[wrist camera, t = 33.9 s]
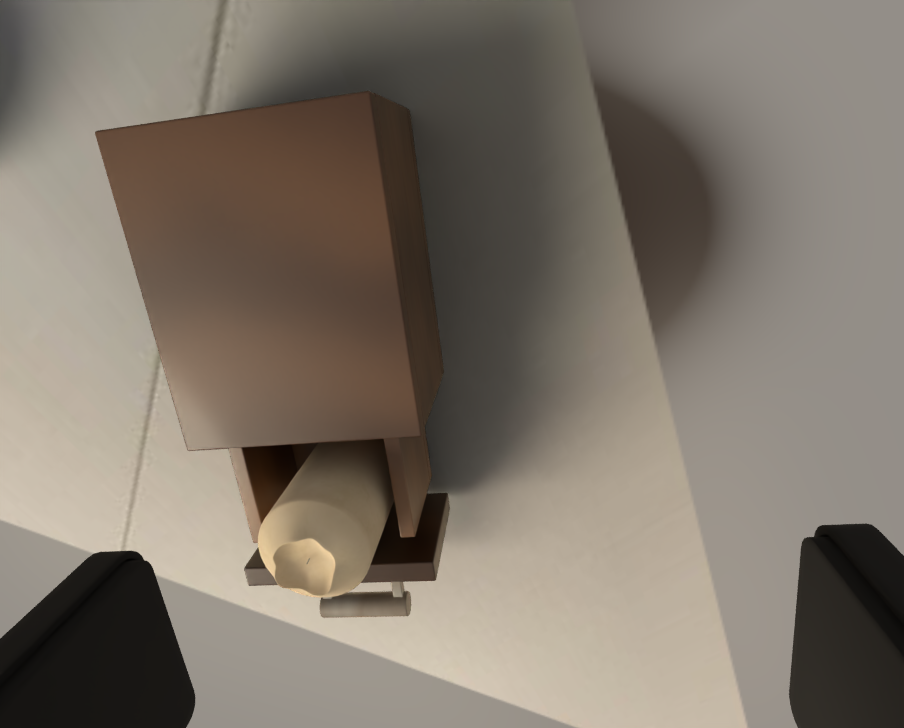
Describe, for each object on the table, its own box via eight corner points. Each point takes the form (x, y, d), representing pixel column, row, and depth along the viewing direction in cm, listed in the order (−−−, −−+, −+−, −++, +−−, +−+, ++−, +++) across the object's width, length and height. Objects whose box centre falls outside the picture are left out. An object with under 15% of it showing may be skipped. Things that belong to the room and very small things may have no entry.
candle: (421, 477, 36) (387, 591, 26) (351, 515, 37) (294, 636, 28) (369, 405, 34) (313, 498, 25) (298, 448, 36) (219, 550, 26)
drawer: (458, 569, 39) (446, 651, 32) (307, 573, 40) (266, 653, 34) (421, 301, 33) (398, 335, 27) (246, 317, 35) (183, 354, 28)
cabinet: (444, 372, 35) (421, 437, 27) (260, 386, 37) (187, 451, 29) (409, 109, 31) (369, 90, 22) (201, 138, 32) (93, 130, 24)
